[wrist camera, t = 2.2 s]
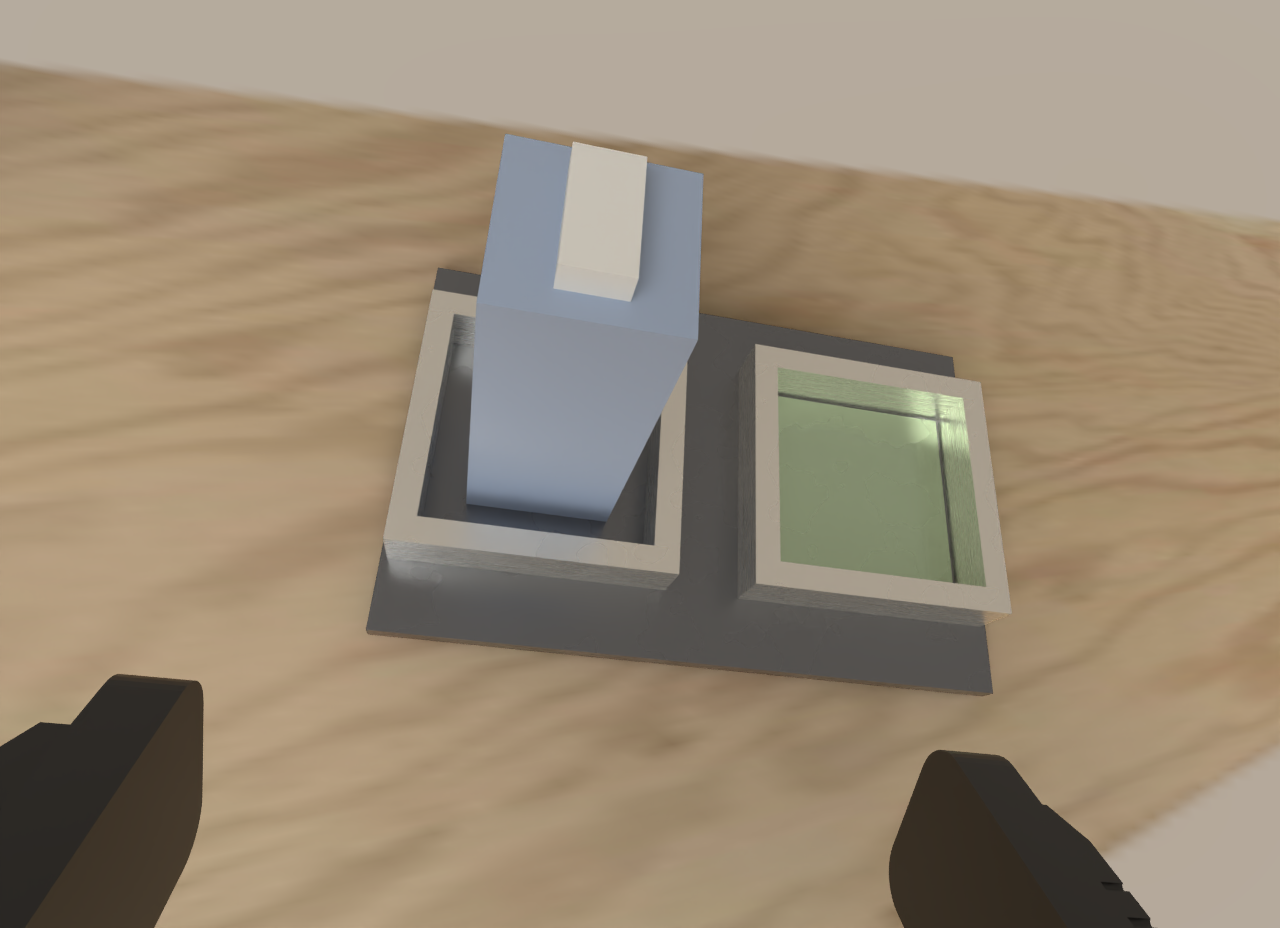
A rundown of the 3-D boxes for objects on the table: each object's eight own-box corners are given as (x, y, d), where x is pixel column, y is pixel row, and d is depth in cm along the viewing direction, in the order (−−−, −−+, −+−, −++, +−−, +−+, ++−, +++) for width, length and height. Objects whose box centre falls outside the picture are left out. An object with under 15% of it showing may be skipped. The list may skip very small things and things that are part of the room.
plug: (466, 503, 26) (477, 278, 15) (485, 380, 28) (507, 104, 17) (606, 521, 27) (708, 318, 16) (616, 400, 29) (713, 147, 18)
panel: (367, 634, 24) (360, 614, 22) (438, 277, 30) (437, 234, 28) (982, 696, 28) (1027, 684, 25) (944, 364, 33) (978, 332, 31)
